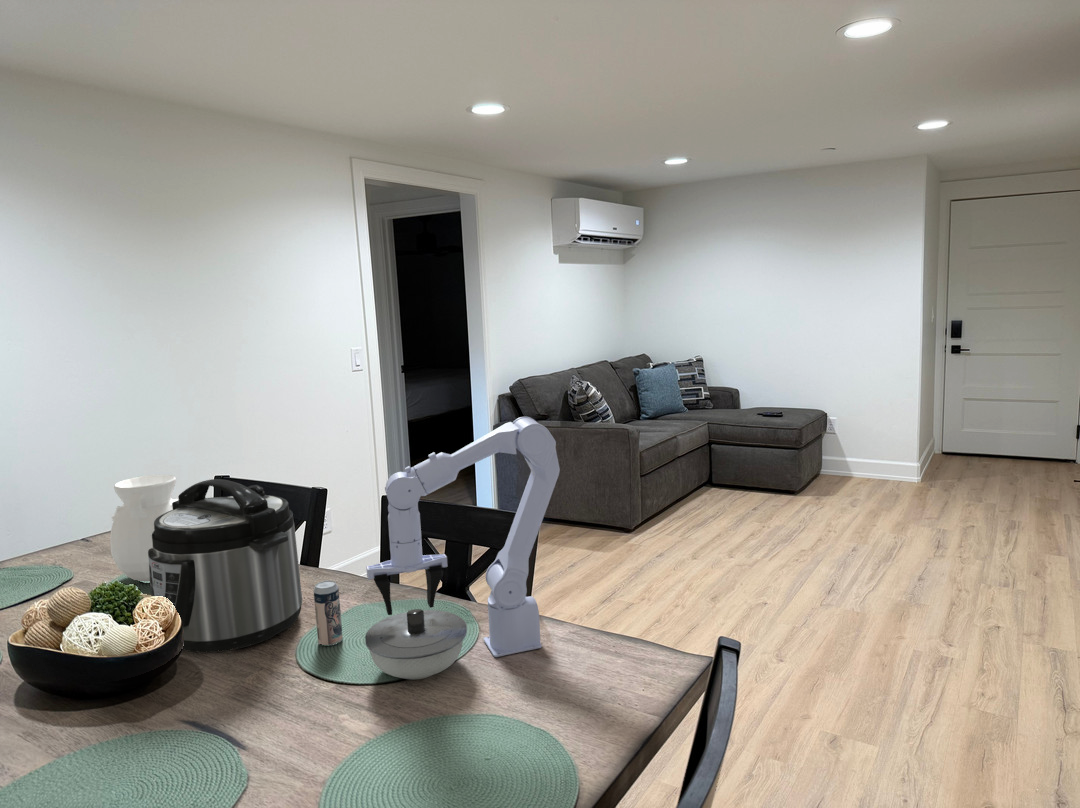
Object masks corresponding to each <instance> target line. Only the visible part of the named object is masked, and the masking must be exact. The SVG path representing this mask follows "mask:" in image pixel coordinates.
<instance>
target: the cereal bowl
mask: <svg viewBox="0 0 1080 808" xmlns="http://www.w3.org/2000/svg"><path fill="white" fill-rule="evenodd" d="M463 641H464V639H463V640H462V641H461V642H460V643H459V644H458V645H456V646H455V647H453V648H451V649H449V650H447V651H445V652H442V653H439V654H436V655H432V656H428V657H423V658H415V659H393V658H387V657H383V656H379V655H377V654H375V653H373V652H371V651H370V650H369V652H370V653H369V654H370V657H371V659H372V661H373V663H374V665H375V666H376V667H377V668H378V669H379V670H380V671H382V672H383V673H384V674H387V675H389V676H392V677H396V678H400V679H405V680H421V679H426V678H429V677H432V676H433V675H434V676H435V675H436V674H439V673H441V672H443V671H444V670H446V669H448V668H449V667H451V666H452V665H453V664H455V661H456V660H457V659H458V658H459V655H460V654H461V651H462V648H463Z"/></svg>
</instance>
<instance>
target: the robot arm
mask: <svg viewBox="0 0 1080 808" xmlns="http://www.w3.org/2000/svg"><path fill="white" fill-rule="evenodd" d="M556 446H557V441H556V440H555V438H554V436H553V435H552V434H551V432H550V431H549V429H548V428H547V427H546V426H544V425H543V424H541V423H539V422H537V421H536V419H534V418H532V417H530V416H520V417H518V418H516V419H515V420H513V422H511V421H509V422H506V423H504V424H502V425H500V426H499V427H497V428H495V429H494V430H491V431H490V432H488V433H486V434H485V435H483V436H481V437H479V438H477V439H476V440H474V441H473V442H470V443H469V444H467V445H465V446H464V447H462V448H460V449H458V450H456V451H455V452H453V453H451V454H450V453H446V452H442V451H441V452H439V453H437V454H436V452H434V451H433V452H432V453H430V454H428V456H427V457H428V458H427V459H425V460H424V461H422V462H419V463H417V464H416V465H414V466H412V467H411V466H410V465H408V466H406V467H405V468H404V471H398V472H395V473H393V474H392V475H390V476H389V477H388V479H386V483H385V487H384V492H385V494H386V498H387V501H388V504H387V505H388V506H387V511H388V515H387V521H388V537H389V538H388V539H389V551H390V560H385V561H383V562H379V563H376V564H372V565H367V566H366V567H365V568H366V577H367V580H368V581H369V580H371V581H372V580H374V583H375V585H376V587H377V588H378V591H379V592H380V594H381V596H382V598H383V601H384V605H385V610H386V613H387V615H388V616H393V608H392V602H391V600H392V599H391V583H390V580H389V576H391V575H398V574H405V573H407V574H408V573H413V572H414V573H415V572H418V571H422V570H424V571H425V577H426V578H425V579H426V600H427V605H428V607H429V608H434V604H435V599H436V594H437V591H438V587H439V585H440V583H441V580H442V578H443V577H444V570H443V569H442V568H447V567H448V556H447V555H446V554H445V553H441V554H440V553H439V554H426V555H425V554H424V555H423V546H422V544H423V543H422V541H423V540H422V530H421V529H422V528H421V527H422V526H421V525H422V524H421V513H420V511H419V502H420V499H421V497H425V496H427V495H430V494H431V493H433V492H435V491H437V490H438V489H441V488H443V487H445V486H447V485H448V484H451V483H452V482H454V481H456V480H457V477H458V474H459V472H460V471H461V470H463V469H465V468H467V467H470V466H472V465H474V464H476V463H478V462H480V461H483V460H484V459H486V458H489V457H492V456H493V455H495V454H497V453H502V454H503V453H504V454H509V455H517V450H518V451H519V452H520V453H521V454H522V456H523V457H524V459H525V462H526V464H527V466H528V467H529V469H530V473H529V476H528V479H527V482H526V485H525V488H524V491H523V493H522V496H521V499H520V500H519V505H518V506H517V507H518V508H517V510H516V513H515V515H514V517H513V520H512V524H511V526H510V529H509V532H508V535H507V538H506V540H505V542H504V543H505V544H504V546H503V547H502V549H501V550H499V551H498V552H497V554H496V557H495V560H494V561H493V562H491V564H490V565H489V566H488V568H487V569H486V572H485V581H486V584H487V585H488V586H489V588H490V594H489V596H488V598H487V612H488V613H487V616H488V617H487V619H488V631H489V632H488V633H489V636H485V637H483V642H484V643H485V645H486V646H487V648H488V650H490V652H491V654H492V656H493V657H495V658H498V657H504V656H508V655H513V654H518V653H523V652H528V651H532V650H537V649H541V648H543V645H542V643H541V628H540V627H541V624H540V610H539V606H538V603H537V600H536V598H535V597H534V596H531V595H530V596H527V593H528V591H527V590H528V589H527V579H528V576H529V568H530V567H529V558H530V556H531V553H532V550H533V548H534V544H535V542H536V539H537V537H538V534H539V532H540V528H541V525H542V522H543V520H544V517H545V515H546V511H547V510H548V506H549V503H550V500H551V498H552V495H553V492H554V490H555V487H556V483H557V480H558V478H559V475H560V471H561V470H560V463H559V459H558V454H557V453H558V452H557V449H556Z"/></svg>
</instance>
